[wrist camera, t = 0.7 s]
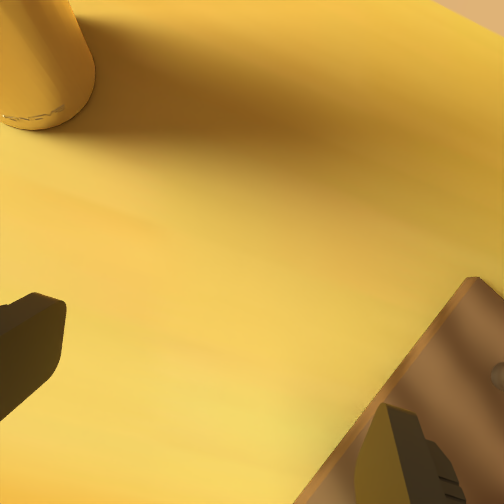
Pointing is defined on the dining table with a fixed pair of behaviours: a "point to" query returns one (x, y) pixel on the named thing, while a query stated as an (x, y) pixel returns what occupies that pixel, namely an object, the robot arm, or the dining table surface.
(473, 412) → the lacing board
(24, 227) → the dining table surface
